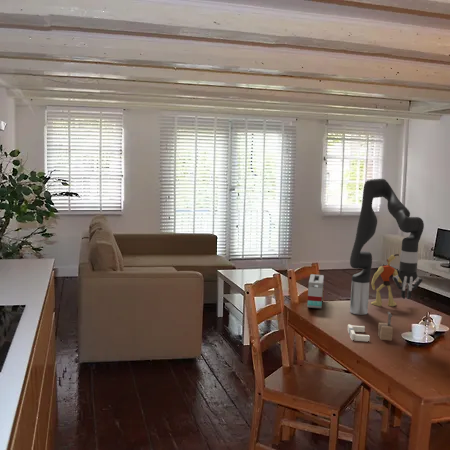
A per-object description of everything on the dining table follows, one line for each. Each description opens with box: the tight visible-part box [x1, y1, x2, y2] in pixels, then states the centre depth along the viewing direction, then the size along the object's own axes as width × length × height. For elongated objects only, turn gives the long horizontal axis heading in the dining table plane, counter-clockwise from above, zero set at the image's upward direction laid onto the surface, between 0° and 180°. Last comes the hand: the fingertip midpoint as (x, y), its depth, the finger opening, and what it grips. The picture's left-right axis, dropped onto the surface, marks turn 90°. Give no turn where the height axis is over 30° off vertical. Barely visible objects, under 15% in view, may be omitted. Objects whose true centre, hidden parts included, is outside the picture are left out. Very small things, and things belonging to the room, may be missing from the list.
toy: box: [370, 253, 408, 307], centre depth 308 cm, size 23×9×30 cm, turn 100°
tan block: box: [377, 311, 394, 341], centre depth 248 cm, size 7×5×12 cm
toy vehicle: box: [306, 273, 325, 309], centre depth 306 cm, size 8×30×15 cm, turn 168°
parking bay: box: [347, 324, 371, 342], centre depth 250 cm, size 15×8×3 cm, turn 174°
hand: (405, 298), depth 246 cm, fingers closed
